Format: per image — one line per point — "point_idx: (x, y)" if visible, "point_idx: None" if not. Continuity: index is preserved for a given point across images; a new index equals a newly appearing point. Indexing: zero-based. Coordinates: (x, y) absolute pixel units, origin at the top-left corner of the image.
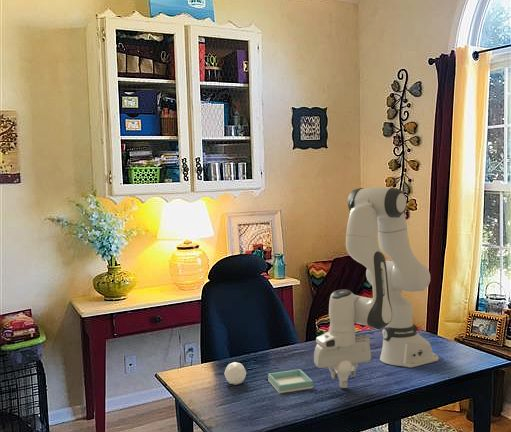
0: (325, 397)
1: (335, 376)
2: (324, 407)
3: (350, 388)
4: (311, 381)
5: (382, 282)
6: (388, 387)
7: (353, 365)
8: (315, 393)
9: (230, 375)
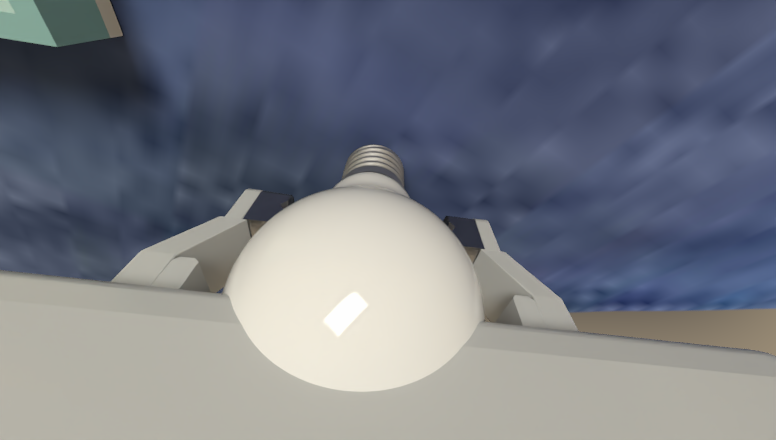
0: None
1: None
2: None
3: (414, 189)
4: (44, 42)
5: None
6: (596, 268)
7: (514, 296)
8: (146, 146)
9: None
